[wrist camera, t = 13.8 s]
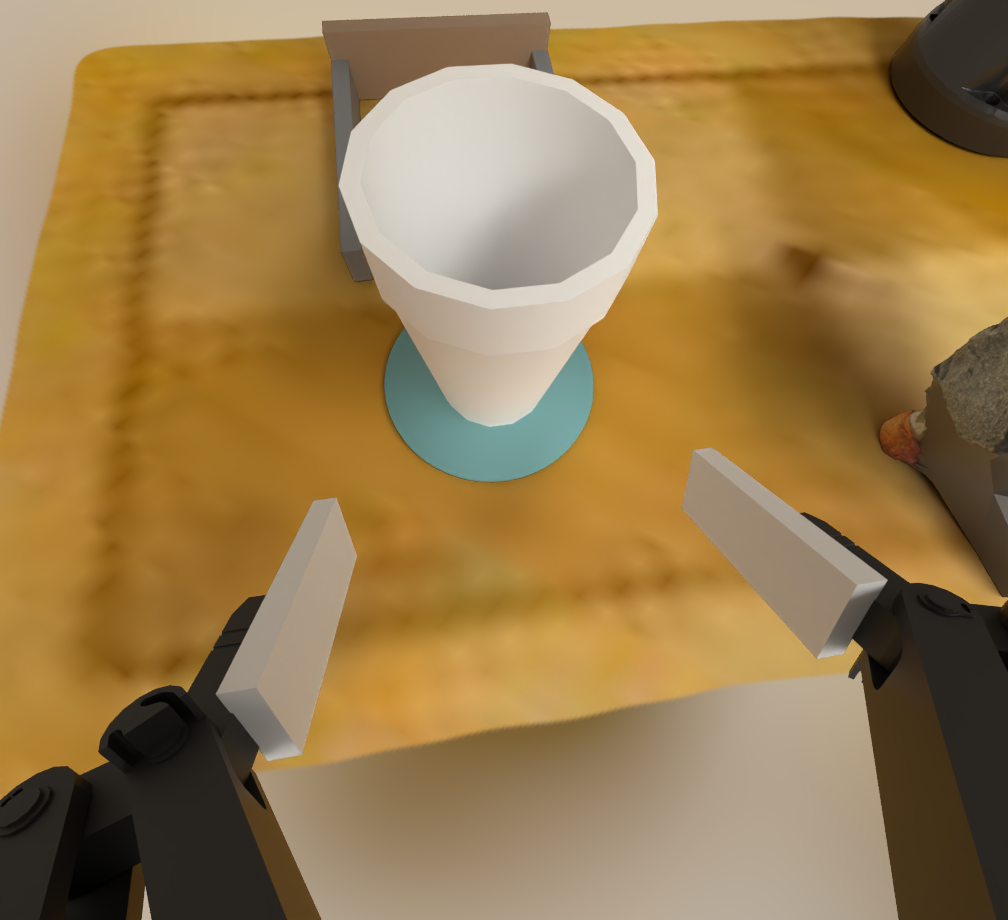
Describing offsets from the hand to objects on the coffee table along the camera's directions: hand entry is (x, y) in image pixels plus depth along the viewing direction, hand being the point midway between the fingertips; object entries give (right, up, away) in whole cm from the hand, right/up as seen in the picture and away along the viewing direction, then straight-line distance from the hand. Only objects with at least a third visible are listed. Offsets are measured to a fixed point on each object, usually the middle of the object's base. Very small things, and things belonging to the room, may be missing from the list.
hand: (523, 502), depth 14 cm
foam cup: (-1, +7, +10) cm, 12 cm away
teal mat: (-2, +7, +10) cm, 12 cm away
